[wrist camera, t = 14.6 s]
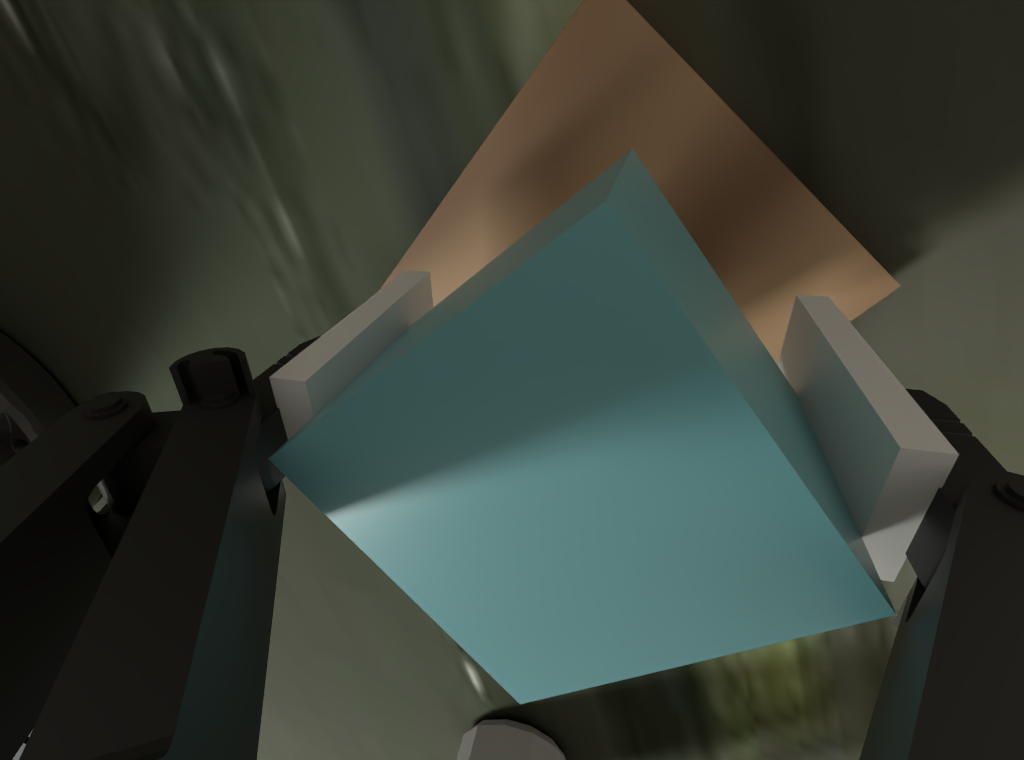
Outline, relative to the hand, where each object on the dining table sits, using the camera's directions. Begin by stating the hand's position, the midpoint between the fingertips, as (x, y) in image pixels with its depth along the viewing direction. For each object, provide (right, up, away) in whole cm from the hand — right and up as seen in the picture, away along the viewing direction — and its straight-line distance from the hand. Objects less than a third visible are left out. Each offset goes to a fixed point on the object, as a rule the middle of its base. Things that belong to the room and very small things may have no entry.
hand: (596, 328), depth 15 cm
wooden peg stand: (+1, +2, +3) cm, 4 cm away
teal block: (0, -1, -2) cm, 2 cm away
